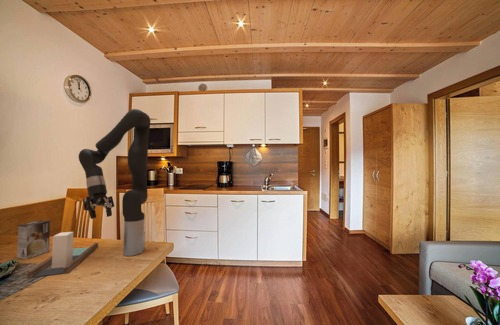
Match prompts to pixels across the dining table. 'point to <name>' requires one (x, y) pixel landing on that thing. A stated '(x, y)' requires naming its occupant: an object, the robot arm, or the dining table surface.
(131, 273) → the dining table surface
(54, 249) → the cream block
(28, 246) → the coffee box
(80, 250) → the pad
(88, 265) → the dining table surface
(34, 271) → the frame
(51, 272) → the grey base plate
